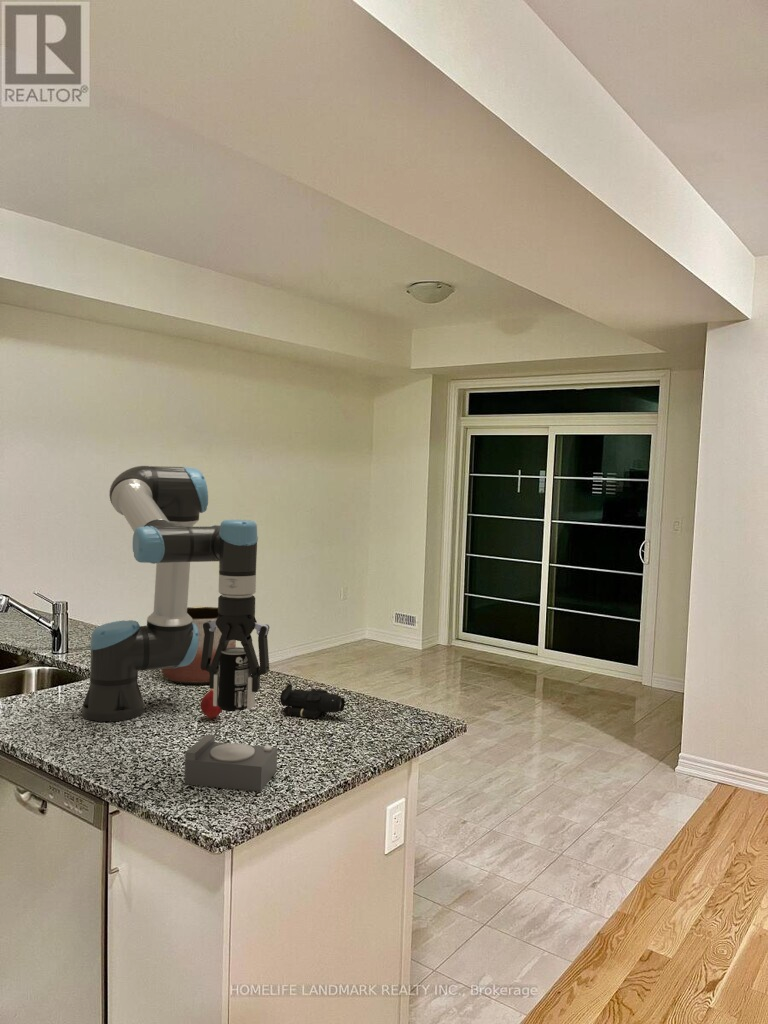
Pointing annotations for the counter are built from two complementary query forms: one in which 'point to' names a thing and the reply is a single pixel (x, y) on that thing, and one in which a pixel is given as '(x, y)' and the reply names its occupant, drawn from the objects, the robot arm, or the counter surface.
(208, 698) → the onion
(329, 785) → the counter surface
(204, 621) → the planter
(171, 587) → the robot arm
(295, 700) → the night vision scope
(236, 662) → the beverage can
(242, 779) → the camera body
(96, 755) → the counter surface
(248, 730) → the counter surface
